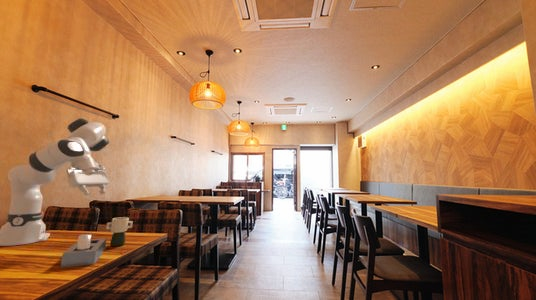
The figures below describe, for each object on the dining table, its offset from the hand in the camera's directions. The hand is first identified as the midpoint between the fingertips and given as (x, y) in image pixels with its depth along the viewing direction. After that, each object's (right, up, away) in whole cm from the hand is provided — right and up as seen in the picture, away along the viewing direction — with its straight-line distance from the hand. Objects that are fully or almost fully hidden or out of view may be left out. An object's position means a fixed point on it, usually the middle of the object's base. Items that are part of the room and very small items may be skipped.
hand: (95, 194), depth 107 cm
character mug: (+8, -27, +4) cm, 28 cm away
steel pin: (+9, -23, -18) cm, 31 cm away
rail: (+6, -24, -14) cm, 28 cm away
